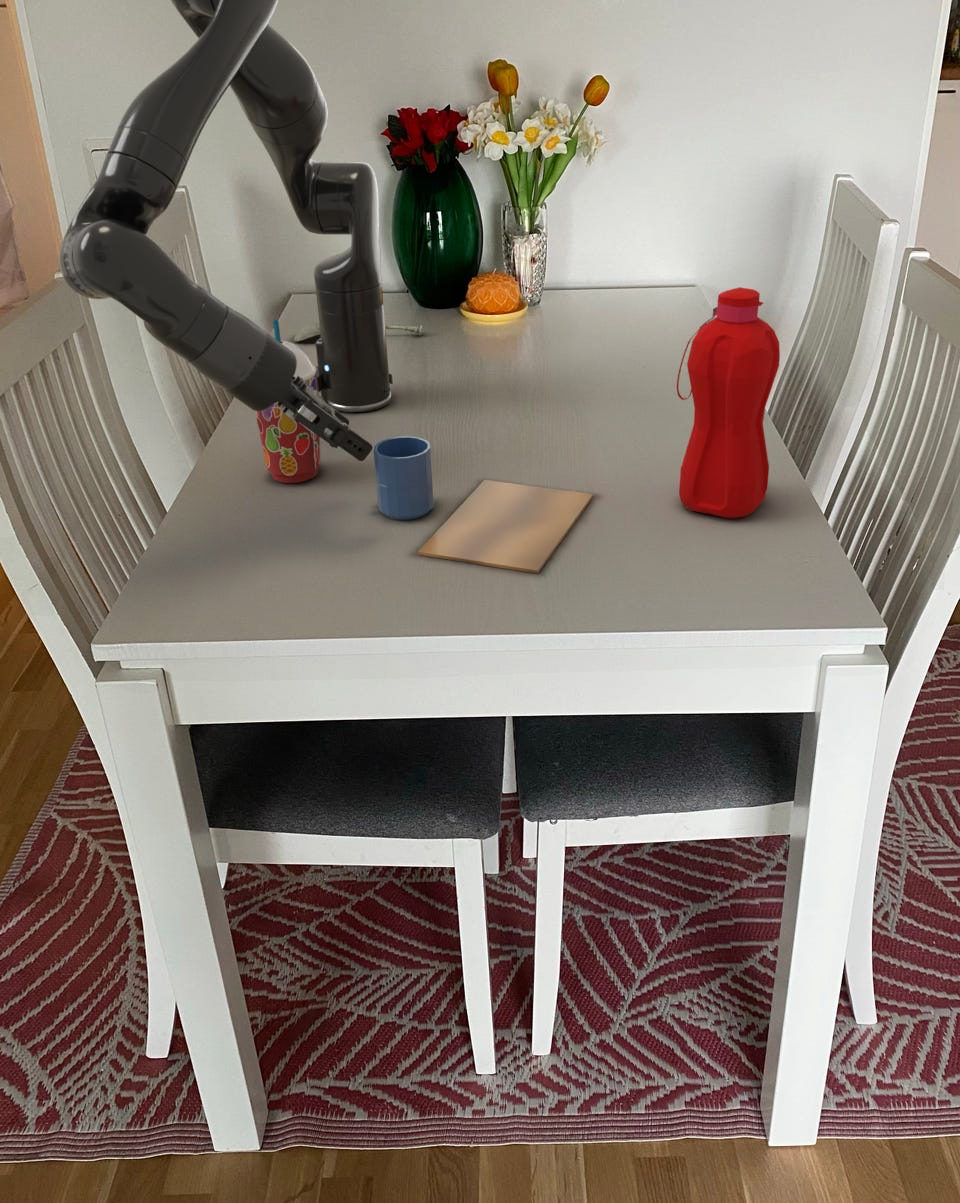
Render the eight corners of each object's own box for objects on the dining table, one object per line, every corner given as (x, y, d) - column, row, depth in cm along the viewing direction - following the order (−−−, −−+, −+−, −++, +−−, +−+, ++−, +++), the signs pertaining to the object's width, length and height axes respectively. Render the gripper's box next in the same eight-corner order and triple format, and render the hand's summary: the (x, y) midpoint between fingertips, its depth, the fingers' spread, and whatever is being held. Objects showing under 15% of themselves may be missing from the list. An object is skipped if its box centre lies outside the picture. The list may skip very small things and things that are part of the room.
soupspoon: (297, 336, 199) (292, 350, 194) (294, 317, 197) (288, 331, 192) (424, 328, 198) (421, 342, 192) (422, 309, 196) (419, 322, 190)
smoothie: (338, 465, 149) (322, 312, 138) (309, 491, 142) (290, 332, 132) (281, 458, 151) (261, 307, 141) (249, 484, 144) (226, 327, 134)
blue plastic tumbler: (369, 517, 135) (364, 454, 131) (393, 495, 140) (388, 433, 136) (420, 525, 133) (416, 461, 129) (442, 502, 138) (439, 439, 134)
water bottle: (685, 478, 141) (698, 273, 129) (772, 495, 136) (795, 284, 124) (656, 508, 134) (666, 294, 122) (746, 527, 129) (767, 306, 117)
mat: (418, 554, 126) (417, 551, 126) (484, 482, 142) (484, 479, 142) (538, 574, 122) (538, 570, 122) (593, 497, 138) (593, 494, 137)
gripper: (279, 348, 114) (397, 435, 124) (246, 312, 125) (356, 394, 135) (234, 408, 115) (354, 490, 124) (206, 367, 126) (317, 445, 136)
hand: (355, 440), depth 130 cm, fingers open, 8 cm apart
